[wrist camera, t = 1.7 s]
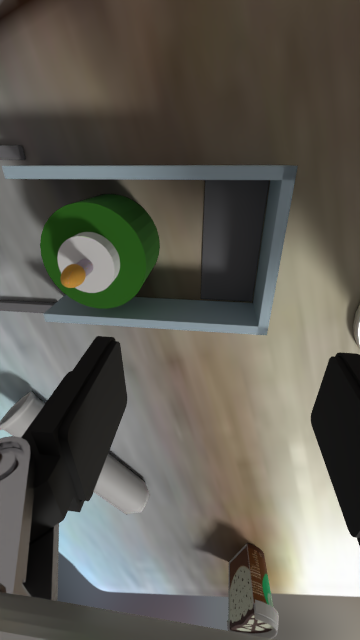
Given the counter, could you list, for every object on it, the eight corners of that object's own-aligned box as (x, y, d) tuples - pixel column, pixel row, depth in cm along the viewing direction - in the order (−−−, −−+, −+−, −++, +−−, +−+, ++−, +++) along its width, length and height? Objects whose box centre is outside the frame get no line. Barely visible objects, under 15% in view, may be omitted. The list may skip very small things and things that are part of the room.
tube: (156, 509, 42) (21, 408, 33) (129, 528, 42) (-10, 434, 34) (154, 478, 47) (37, 384, 38) (130, 496, 47) (9, 407, 39)
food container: (254, 572, 57) (261, 646, 48) (226, 564, 56) (227, 637, 48) (282, 548, 50) (295, 628, 42) (250, 539, 50) (256, 618, 42)
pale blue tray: (283, 164, 21) (297, 165, 17) (259, 310, 27) (266, 335, 24) (37, 165, 23) (1, 166, 19) (68, 300, 30) (45, 321, 26)
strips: (22, 145, 23) (17, 145, 22) (62, 311, 30) (59, 314, 30) (-56, 146, 23) (-62, 146, 23) (3, 307, 31) (-1, 310, 31)
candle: (64, 260, 27) (-7, 305, 19) (86, 175, 23) (8, 184, 15) (140, 297, 28) (106, 356, 20) (174, 222, 24) (150, 255, 16)
